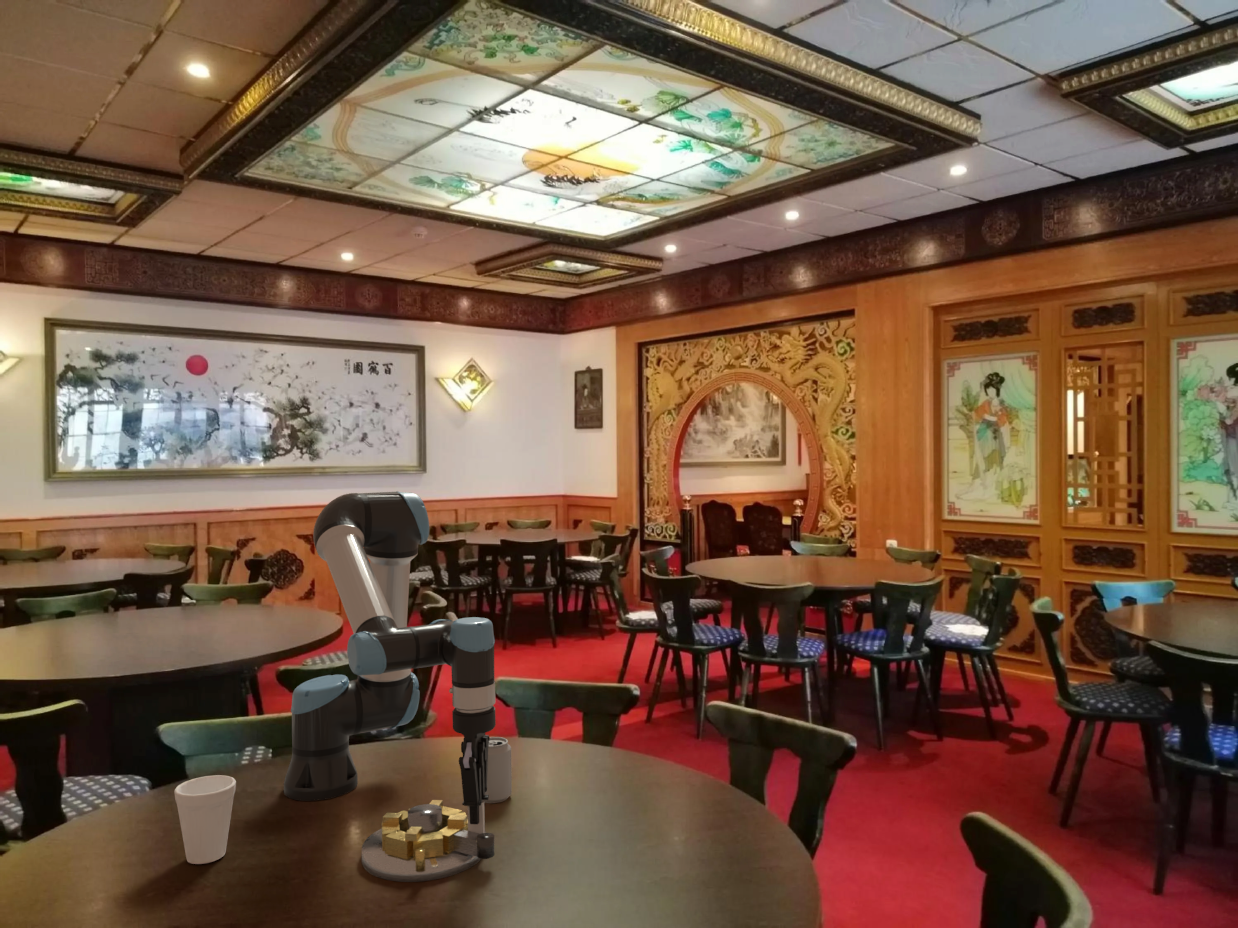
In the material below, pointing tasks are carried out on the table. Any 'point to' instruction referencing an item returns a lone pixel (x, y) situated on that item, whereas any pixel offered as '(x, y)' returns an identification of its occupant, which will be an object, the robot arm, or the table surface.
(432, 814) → the cap base
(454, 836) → the ring nut
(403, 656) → the robot arm
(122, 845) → the table surface
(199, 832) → the cup
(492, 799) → the can
